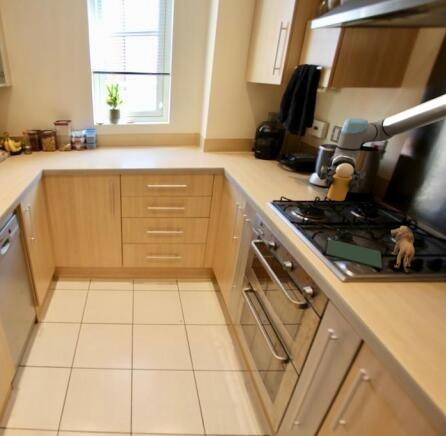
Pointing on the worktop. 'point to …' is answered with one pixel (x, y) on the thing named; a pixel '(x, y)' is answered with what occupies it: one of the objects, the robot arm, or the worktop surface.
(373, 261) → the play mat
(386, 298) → the worktop surface
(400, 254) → the lion figurine
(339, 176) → the peg doll
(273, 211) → the worktop surface
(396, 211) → the worktop surface
